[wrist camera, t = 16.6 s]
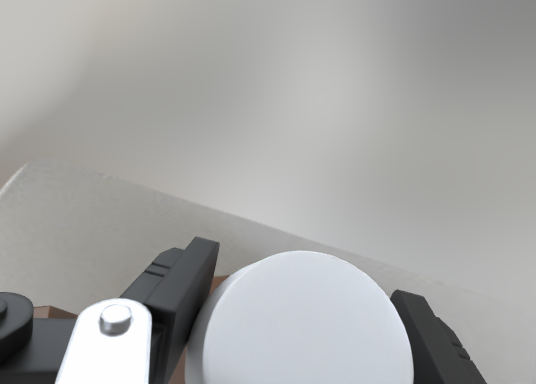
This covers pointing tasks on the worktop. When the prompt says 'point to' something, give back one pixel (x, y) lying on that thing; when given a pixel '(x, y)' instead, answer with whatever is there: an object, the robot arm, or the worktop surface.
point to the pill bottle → (298, 327)
